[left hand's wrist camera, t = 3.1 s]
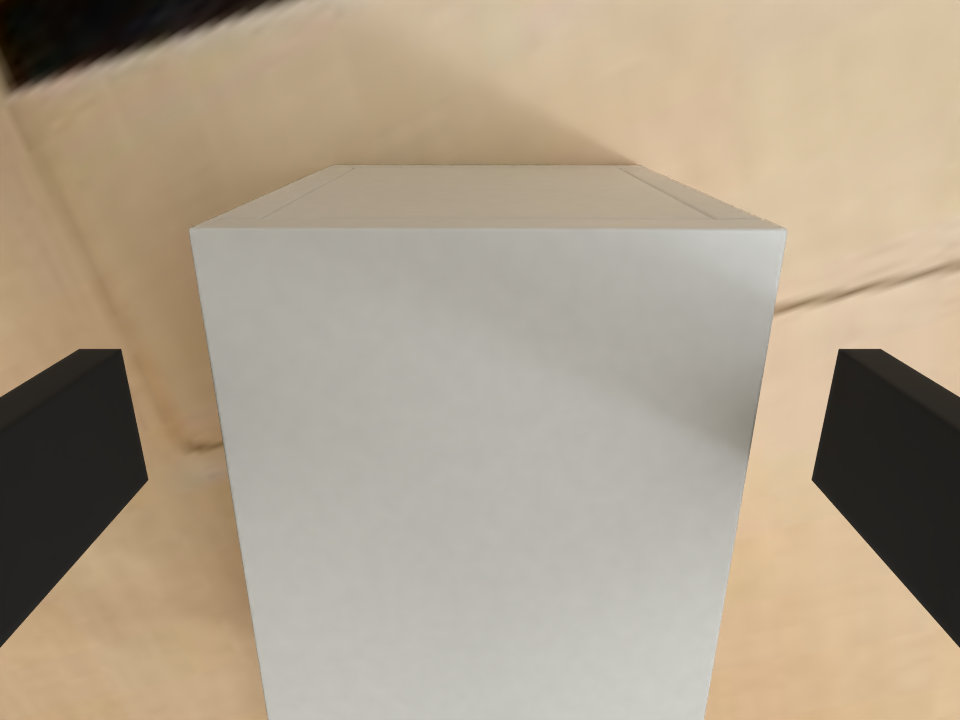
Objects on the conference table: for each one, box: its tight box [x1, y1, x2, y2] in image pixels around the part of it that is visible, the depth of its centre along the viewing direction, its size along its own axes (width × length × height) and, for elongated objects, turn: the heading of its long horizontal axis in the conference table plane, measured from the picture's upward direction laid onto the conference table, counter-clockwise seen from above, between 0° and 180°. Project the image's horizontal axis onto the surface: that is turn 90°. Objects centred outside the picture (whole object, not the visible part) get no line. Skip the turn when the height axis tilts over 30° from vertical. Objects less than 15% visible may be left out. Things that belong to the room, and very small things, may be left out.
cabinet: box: [189, 165, 787, 720], centre depth 19 cm, size 19×10×11 cm, turn 0°
